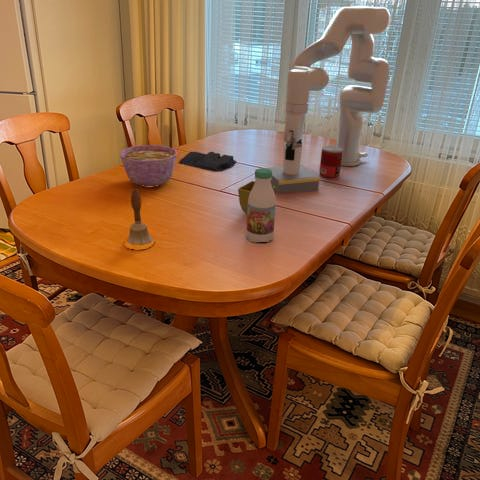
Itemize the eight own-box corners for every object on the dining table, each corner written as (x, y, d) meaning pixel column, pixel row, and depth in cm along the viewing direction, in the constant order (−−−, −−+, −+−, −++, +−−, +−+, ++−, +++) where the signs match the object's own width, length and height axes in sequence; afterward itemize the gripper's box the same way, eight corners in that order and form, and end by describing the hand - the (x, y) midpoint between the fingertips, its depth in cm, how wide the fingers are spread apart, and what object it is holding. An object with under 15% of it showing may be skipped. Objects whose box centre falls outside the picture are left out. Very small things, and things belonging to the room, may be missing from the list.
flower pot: (260, 222, 139) (262, 194, 135) (236, 215, 143) (237, 188, 139) (274, 212, 146) (276, 186, 142) (250, 206, 150) (251, 180, 146)
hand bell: (153, 250, 121) (150, 194, 114) (121, 250, 121) (116, 194, 113) (156, 236, 129) (153, 183, 121) (126, 236, 128) (121, 183, 121)
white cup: (302, 170, 169) (305, 144, 164) (296, 176, 163) (299, 148, 159) (285, 168, 171) (287, 141, 167) (279, 173, 166) (281, 146, 161)
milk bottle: (245, 231, 133) (247, 165, 124) (271, 231, 134) (275, 165, 125) (247, 244, 126) (250, 175, 117) (275, 243, 127) (280, 175, 118)
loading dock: (300, 177, 178) (301, 164, 175) (318, 190, 165) (320, 177, 163) (262, 180, 172) (263, 168, 170) (278, 194, 160) (279, 181, 158)
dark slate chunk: (196, 155, 201) (196, 144, 199) (239, 164, 191) (240, 153, 189) (175, 164, 189) (175, 153, 187) (220, 174, 179) (220, 162, 177)
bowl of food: (189, 184, 167) (188, 153, 162) (144, 198, 154) (142, 164, 148) (155, 171, 179) (154, 141, 174) (111, 182, 166) (108, 151, 160)
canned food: (339, 179, 176) (343, 151, 171) (318, 177, 178) (321, 150, 173) (339, 173, 183) (343, 146, 178) (319, 171, 184) (322, 144, 179)
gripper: (292, 102, 165) (289, 148, 173) (278, 111, 151) (276, 161, 159) (313, 104, 162) (309, 150, 171) (301, 114, 148) (297, 164, 156)
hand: (293, 156), depth 165 cm, fingers open, 9 cm apart
